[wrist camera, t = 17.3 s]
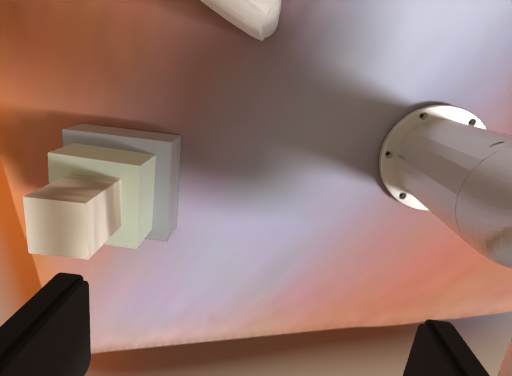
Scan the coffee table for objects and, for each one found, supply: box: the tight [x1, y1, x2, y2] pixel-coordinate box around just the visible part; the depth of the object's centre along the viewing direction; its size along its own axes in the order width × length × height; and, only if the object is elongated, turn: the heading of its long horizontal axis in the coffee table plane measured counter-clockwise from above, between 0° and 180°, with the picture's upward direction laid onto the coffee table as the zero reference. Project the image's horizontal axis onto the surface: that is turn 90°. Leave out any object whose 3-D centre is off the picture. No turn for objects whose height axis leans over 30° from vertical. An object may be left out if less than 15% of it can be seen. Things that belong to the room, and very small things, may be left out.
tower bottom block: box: [62, 124, 182, 242], centre depth 43 cm, size 12×12×5 cm
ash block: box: [23, 174, 121, 259], centre depth 32 cm, size 5×5×7 cm
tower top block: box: [48, 143, 156, 249], centre depth 38 cm, size 9×9×5 cm
